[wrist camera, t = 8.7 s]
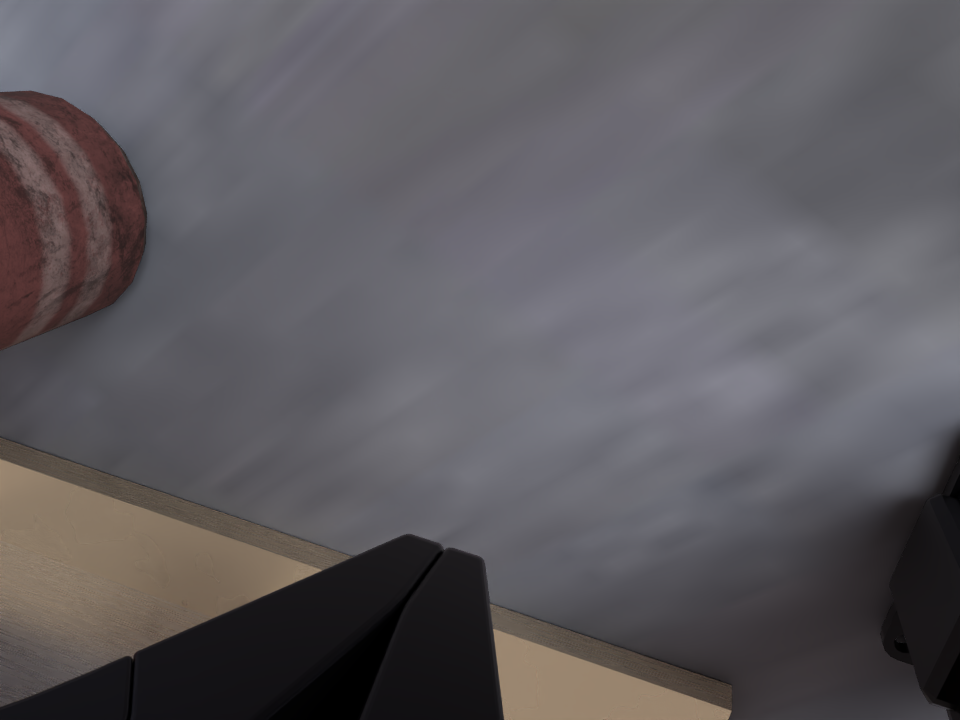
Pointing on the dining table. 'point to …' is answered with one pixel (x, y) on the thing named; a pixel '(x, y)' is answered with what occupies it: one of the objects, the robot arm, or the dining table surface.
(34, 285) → the can
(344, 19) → the dining table surface
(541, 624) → the bearing block
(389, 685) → the robot arm
